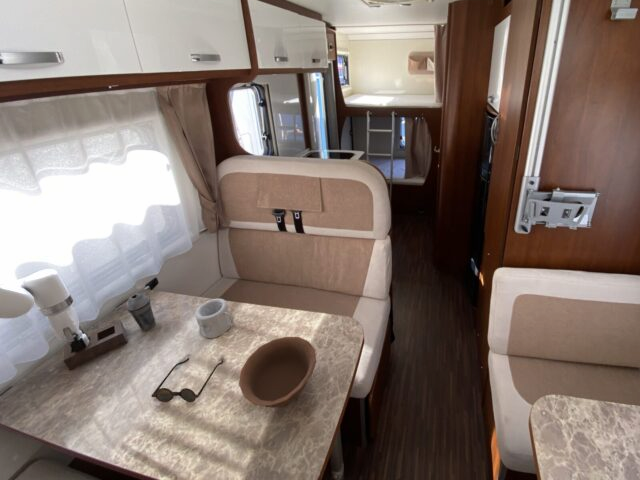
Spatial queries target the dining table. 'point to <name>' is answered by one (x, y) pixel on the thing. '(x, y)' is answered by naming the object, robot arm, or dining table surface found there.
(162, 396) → the eyeglasses
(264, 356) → the bowl
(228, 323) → the mug
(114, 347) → the holder
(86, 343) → the pill bottle
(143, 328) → the beverage cup
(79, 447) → the dining table surface
